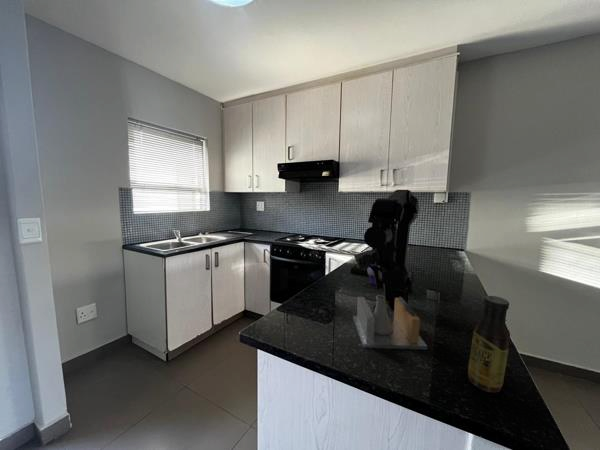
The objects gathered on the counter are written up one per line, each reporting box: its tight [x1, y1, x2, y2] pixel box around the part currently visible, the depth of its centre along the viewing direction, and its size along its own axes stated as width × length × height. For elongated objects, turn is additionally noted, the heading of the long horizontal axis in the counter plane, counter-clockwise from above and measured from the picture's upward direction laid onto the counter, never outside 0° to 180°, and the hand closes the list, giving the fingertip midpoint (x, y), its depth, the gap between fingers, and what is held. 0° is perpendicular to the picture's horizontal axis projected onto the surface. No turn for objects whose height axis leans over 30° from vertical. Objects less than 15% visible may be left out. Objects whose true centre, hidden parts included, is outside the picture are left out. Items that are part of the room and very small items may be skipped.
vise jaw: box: [393, 297, 421, 343], centre depth 75 cm, size 2×14×8 cm, turn 178°
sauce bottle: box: [467, 295, 511, 394], centre depth 54 cm, size 6×6×20 cm
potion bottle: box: [367, 267, 376, 287], centre depth 115 cm, size 9×9×12 cm
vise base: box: [352, 296, 428, 351], centre depth 75 cm, size 17×16×8 cm
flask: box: [372, 294, 392, 335], centre depth 75 cm, size 7×7×10 cm
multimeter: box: [350, 264, 369, 278], centre depth 130 cm, size 13×19×5 cm
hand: (382, 294), depth 74 cm, fingers open, 9 cm apart
